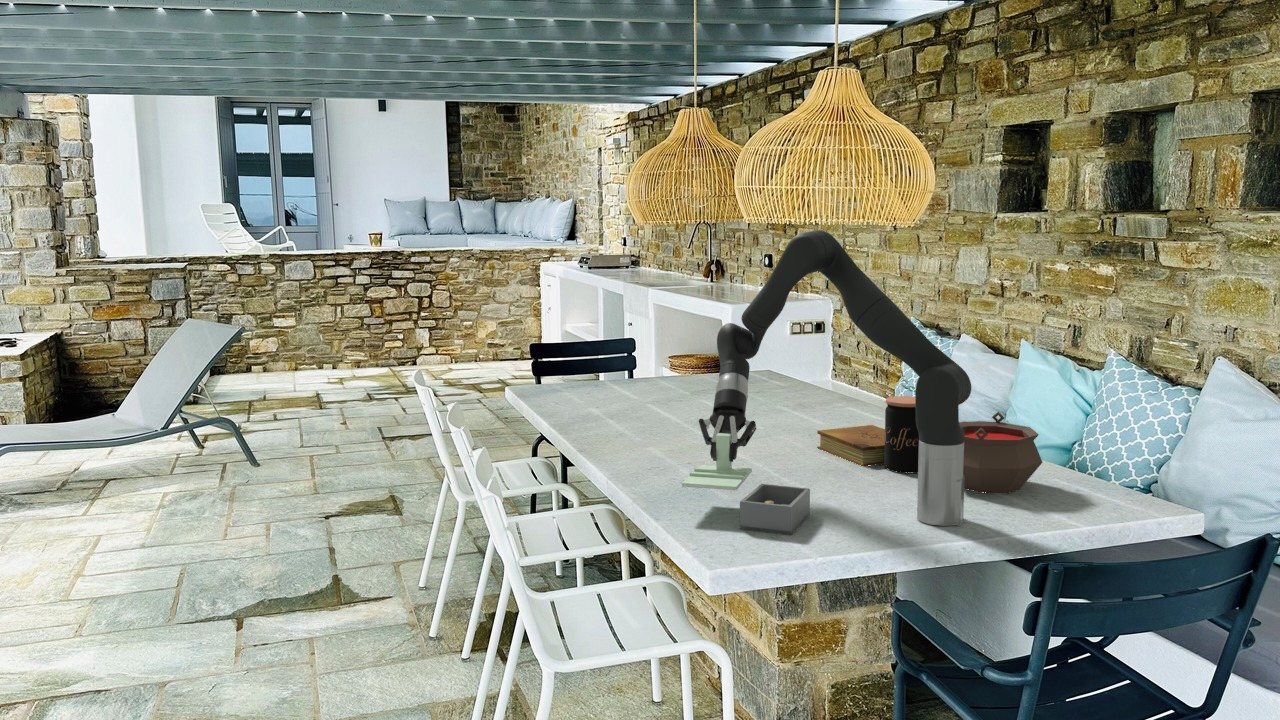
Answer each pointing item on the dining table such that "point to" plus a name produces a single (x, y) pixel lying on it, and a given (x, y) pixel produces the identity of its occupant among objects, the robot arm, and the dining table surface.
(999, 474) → the brown faceted pot
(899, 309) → the robot arm
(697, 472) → the lid
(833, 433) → the diary
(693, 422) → the dining table surface
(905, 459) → the coffee jar
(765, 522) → the tub
